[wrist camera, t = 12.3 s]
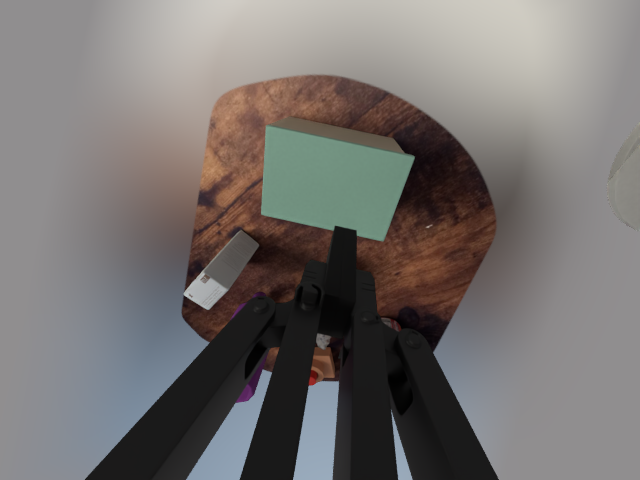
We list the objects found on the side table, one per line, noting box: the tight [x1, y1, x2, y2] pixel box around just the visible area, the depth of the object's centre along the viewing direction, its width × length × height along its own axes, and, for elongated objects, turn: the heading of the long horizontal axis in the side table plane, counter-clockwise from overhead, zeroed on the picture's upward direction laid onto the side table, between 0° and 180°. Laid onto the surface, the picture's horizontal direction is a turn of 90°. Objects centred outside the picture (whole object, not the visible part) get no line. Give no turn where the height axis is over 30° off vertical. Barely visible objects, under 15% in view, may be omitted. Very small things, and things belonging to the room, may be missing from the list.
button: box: [309, 370, 317, 385], centre depth 54 cm, size 4×4×2 cm
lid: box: [261, 125, 415, 241], centre depth 26 cm, size 14×10×1 cm, turn 80°
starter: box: [311, 347, 335, 383], centre depth 56 cm, size 10×8×4 cm
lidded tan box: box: [269, 116, 404, 153], centre depth 30 cm, size 14×10×9 cm
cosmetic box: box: [184, 230, 259, 310], centre depth 38 cm, size 6×4×12 cm
